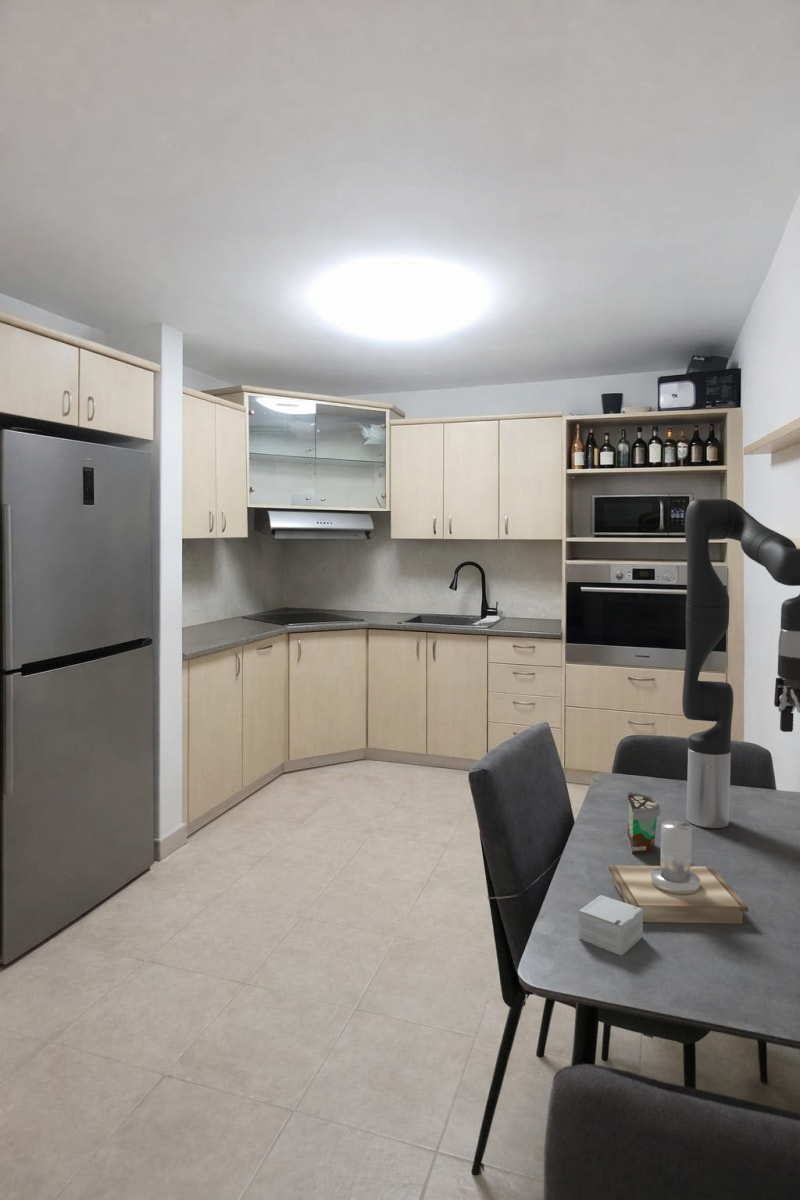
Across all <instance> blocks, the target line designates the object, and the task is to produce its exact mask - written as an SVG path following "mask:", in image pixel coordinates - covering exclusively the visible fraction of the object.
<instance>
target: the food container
mask: <svg viewBox="0 0 800 1200" xmlns="http://www.w3.org/2000/svg"><path fill="white" fill-rule="evenodd" d="M626 800H627V841H628V845H629V848H630V851H631V855H644V854H645V855H646V854H649V853H652V852H653V851H654V849H655V839H656V831H657V830H656V829H657V820H658V819H657V818H658V816H659V817H660V815H661V808H660V805H659V802H658V800H657V799H656V798H654V797H652V796H651V795H648V794H643V793H639V792H634V791H633V792H631V791H627V799H626Z"/></svg>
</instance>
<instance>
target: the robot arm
mask: <svg viewBox="0 0 800 1200" xmlns="http://www.w3.org/2000/svg"><path fill="white" fill-rule="evenodd" d="M684 535H685V550H686V562H687V563H686V565H687V566H686V568H687V569H686V572H687V573H686V601H685V661H684V673H683V674H684V675H683V683H682V684H683V685H682V686H683V687H682V703H681V706H682V713H683V715H684V717H685V719H687V720H690V721H691V720H692V721H704V722H716V723H715V724H714V725H712V727H710V728H708V729H706V730H703V731H699V732H696V733H692V734H690V735H689V736H688V740H687V779H686V780H687V781H686V782H687V785H686V786H687V787H686V815H685V817H686V821H688V823H689V824H693V825H694V826H699V827H701V828H708V829H723V828H726V827H728V826H729V824H730V823H729V821H730V798H731V797H730V796H731V794H730V790H731V789H730V788H731V757H732V756H731V755H732V754H731V753H732V752H731V751H732V748H731V747H732V744H731V743H732V741H731V740H732V739H731V738H732V721H733V712H734V711H733V710H734V690H733V687H732V685H731V683H730V682H726V681H713V680H711V681H710V680H699V677H700V672H701V670H702V668H703V665H704V664H705V662H706V660H707V658H708V657H709V655H710V654H711V652H712V651H713V650H714V649H715V647H716V646H717V645H718V643H719V642H720V641H721V639H722V638H723V637H724V635H725V634H726V633H727V630H728V628H729V625H730V624H729V621H730V596H729V594H728V591H727V589H726V586H725V585H724V583H723V582H722V580H721V579H720V577H719V575H718V574H717V572H716V570H715V568H714V567H713V563H712V561H711V556H710V548H709V547H710V546H709V543H710V541H716V540H717V541H718V540H719V541H720V540H725V539H729V540H730V539H731V540H735V541H738V542H740V546H741V550H742V552H743V553H744V554H745V555H746V556H747V558H749V559H750V560H752V561H754V562H755V563H757V564H759V565H761V566H762V567H764V568H765V569H766V571H767V572H768V573H769V575H770V576H771V577H772V579H773V580H774V581H775V582H777V583H779V584H781V585H783V586H789V587H792V586H793V587H798V586H799V587H800V548H798V547H797V546H796V544H795V543H794V541H793V540H791V539H790V538H789V537H787V536H785V535H782V534H780V533H779V532H777V531H775V530H773V529H771V528H769V527H768V526H766V525H764V524H763V523H761V522H760V521H758V520H757V519H756V518H754V517H753V515H751V514H750V513H749V512H748V511H747V510H746V509H745V508H743V507H742V506H741V505H739V504H738V503H737V502H735V501H733V500H732V499H729V498H727V499H726V498H705V499H703V498H700V499H699V498H698V499H693V500H692V501H690V502H689V504H688V505H687V508H686V511H685V517H684ZM777 649H778V650H777V651H778V653H777V676H778V677H776V678H775V687H774V706H775V707H777V708H778V712H779V713H780V715H779V716H780V718H779V719H780V720H779V721H780V722H779V730H780V732H781V731H782V732H783V733H792V732H793V730H794V714H795V713H794V711H795V709H796V711H797V712H798V713H799V714H800V593H799V594H798V595H797V596H795V597H791V598H788V599H785V600H784V601H783V602H782V604H781V608H780V632H779V637H778V646H777Z"/></svg>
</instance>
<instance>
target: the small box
mask: <svg viewBox="0 0 800 1200" xmlns="http://www.w3.org/2000/svg"><path fill="white" fill-rule="evenodd" d="M643 926H644V922H643V909H641V908H639V907H636V906H633V905H630V904H627V903H625V901H621V900H617V899H614V898H611V897H608V896H606V895H602V894H600V895H599V896H597V897H596V898H594V899H593V900H592V901H591V902H588V904H586V905H585V906H584V907H582V908H581V909H580V910H579V909H578V940H580V939H582V940H581V941H583V940H584V941H583V942H585V941H586V943H588V942H589V943H588V944H590V943H592V944H591V945H593V944H594V945H593V946H595V945H596V947H598V948H601V949H603V948H604V949H603V950H606V951H608V952H611V953H613V954H616V955H618V954H619V956H623V955H624V954H625V953H626V952H627V951H629V950H630V949H632V947H633V946H634V945H635V944H637V943H638V942H639V941H640V940H641V939H642V938H643V935H644V934H643V930H644V929H643Z"/></svg>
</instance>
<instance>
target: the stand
mask: <svg viewBox="0 0 800 1200" xmlns="http://www.w3.org/2000/svg"><path fill="white" fill-rule="evenodd" d="M656 868H660V865H615V864H609V865H608V871H609V872H610V874H611V875H612V881H613V884H614V886H615V887H616V888H617V890H618V892H619V894H620V896H621V897H622V899H623V902H624V903H627V904H630V905H633V906H636V907H639V908H641V909H643V923H673V924H674V923H681V924H683V923H684V924H685V923H687V924H692V923H693V924H742V925H743V924H744V923H743V922H744V920H743V919H744V918H743V917H744V915H743V914H744V913H745V912H746V913H747V912H749V906H748V905H747V904H746V903H745V901H743V899H742V898H741V897H740V896H739V895H738V893H736V892H735V891H734V890H733V888H732V887H731V886H730V884H728V883H727V882H726V881H725V880H724V879H723V877H722V876H721V875H720V873H718V872H717V871H716V869H714V868H713V866H711V865H707V866H706V865H704V866H699V865H698V866H696V865H695V866H692V865H691V872H692V873H694V874H696V875H697V876H698V877H699V878H700V890H699V892H698V893H696V894H693V895H673V894H669V893H665V892H663V891H660V890H658V889H656V888H655V887H654V886H653V885H652V884H651V872H652V870H654V869H656Z"/></svg>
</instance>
